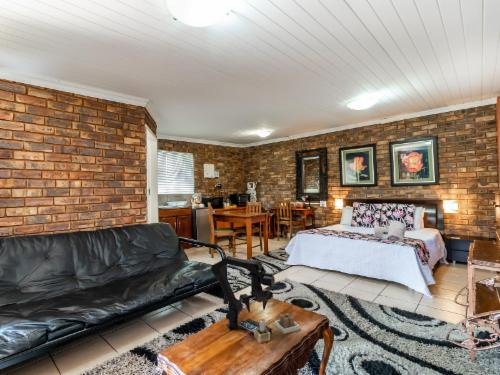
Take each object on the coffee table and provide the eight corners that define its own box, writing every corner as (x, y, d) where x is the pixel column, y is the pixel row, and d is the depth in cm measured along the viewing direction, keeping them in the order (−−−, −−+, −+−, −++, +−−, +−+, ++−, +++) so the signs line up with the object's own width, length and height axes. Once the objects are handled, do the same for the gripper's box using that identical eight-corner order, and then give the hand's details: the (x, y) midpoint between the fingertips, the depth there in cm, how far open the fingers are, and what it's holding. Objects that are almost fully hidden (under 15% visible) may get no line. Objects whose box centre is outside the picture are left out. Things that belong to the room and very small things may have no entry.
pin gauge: (258, 337, 148) (258, 319, 148) (263, 336, 149) (263, 318, 149) (261, 340, 146) (260, 322, 145) (265, 339, 147) (265, 320, 147)
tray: (274, 325, 161) (274, 321, 161) (289, 321, 165) (289, 317, 165) (283, 334, 151) (283, 329, 151) (299, 329, 156) (299, 325, 156)
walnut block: (279, 325, 160) (279, 315, 160) (288, 322, 162) (288, 313, 162) (285, 330, 154) (284, 319, 154) (293, 327, 157) (293, 317, 157)
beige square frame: (254, 336, 149) (254, 329, 149) (264, 334, 152) (264, 327, 152) (259, 343, 143) (259, 335, 143) (270, 340, 146) (270, 332, 146)
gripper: (246, 291, 142) (246, 321, 142) (277, 286, 150) (278, 314, 150) (238, 284, 152) (239, 312, 153) (268, 279, 160) (268, 305, 160)
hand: (256, 311), depth 154 cm, fingers open, 9 cm apart
